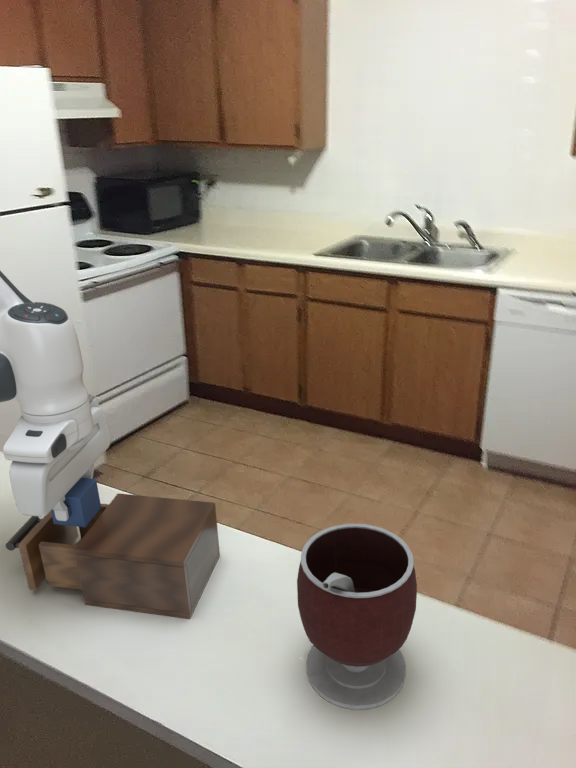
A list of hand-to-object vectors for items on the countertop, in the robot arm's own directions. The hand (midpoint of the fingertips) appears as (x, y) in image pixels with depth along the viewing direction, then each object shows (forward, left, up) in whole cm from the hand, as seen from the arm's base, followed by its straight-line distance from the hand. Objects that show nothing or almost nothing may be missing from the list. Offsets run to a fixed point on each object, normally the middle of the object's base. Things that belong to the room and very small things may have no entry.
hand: (75, 505), depth 97 cm
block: (0, 0, -2) cm, 2 cm away
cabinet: (+11, 0, -12) cm, 16 cm away
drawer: (-1, 0, -11) cm, 11 cm away
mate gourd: (+42, -12, -12) cm, 45 cm away
